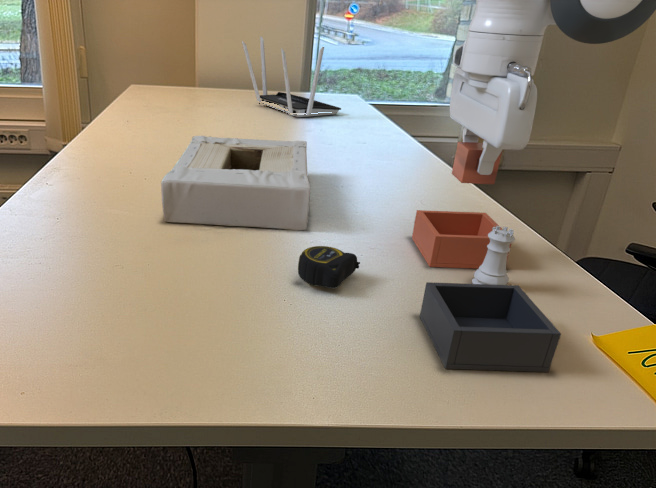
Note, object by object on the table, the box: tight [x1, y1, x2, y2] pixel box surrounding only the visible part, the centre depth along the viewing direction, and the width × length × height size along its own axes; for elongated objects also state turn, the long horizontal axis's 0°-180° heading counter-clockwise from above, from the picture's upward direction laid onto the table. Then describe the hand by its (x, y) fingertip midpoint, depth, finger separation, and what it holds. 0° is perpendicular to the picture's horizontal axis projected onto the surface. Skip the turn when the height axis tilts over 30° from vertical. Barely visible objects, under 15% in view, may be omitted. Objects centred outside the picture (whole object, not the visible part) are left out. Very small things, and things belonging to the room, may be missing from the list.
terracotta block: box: [451, 141, 503, 185], centre depth 79 cm, size 4×4×4 cm
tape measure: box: [297, 245, 361, 289], centre depth 75 cm, size 7×7×4 cm
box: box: [160, 135, 311, 231], centre depth 104 cm, size 23×8×32 cm
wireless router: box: [241, 36, 342, 118], centre depth 177 cm, size 34×23×20 cm
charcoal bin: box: [419, 281, 562, 373], centre depth 63 cm, size 11×11×5 cm
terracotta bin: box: [411, 209, 513, 269], centre depth 85 cm, size 11×11×5 cm
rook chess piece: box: [471, 225, 516, 285], centre depth 74 cm, size 4×4×8 cm
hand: (475, 167), depth 80 cm, fingers closed on terracotta block, 4 cm apart
